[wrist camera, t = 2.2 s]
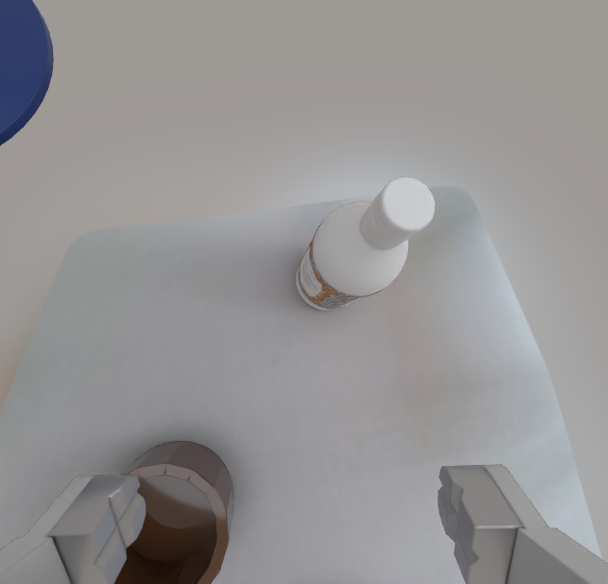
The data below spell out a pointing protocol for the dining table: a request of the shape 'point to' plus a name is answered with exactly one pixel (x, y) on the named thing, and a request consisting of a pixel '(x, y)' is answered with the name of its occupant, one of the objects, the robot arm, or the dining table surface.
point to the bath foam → (363, 245)
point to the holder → (180, 516)
